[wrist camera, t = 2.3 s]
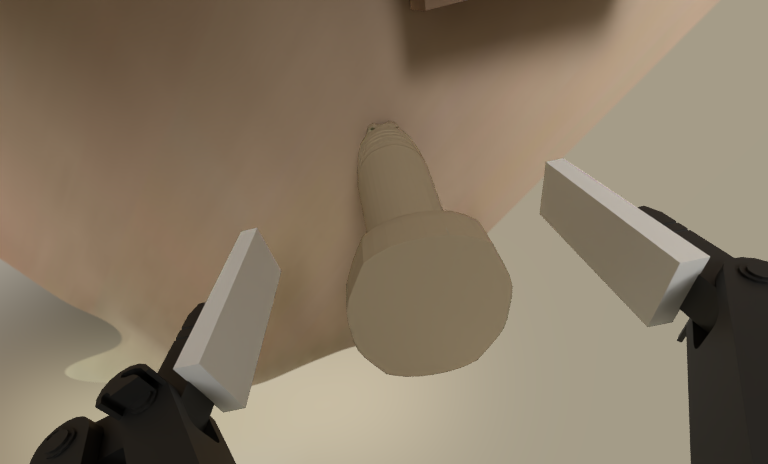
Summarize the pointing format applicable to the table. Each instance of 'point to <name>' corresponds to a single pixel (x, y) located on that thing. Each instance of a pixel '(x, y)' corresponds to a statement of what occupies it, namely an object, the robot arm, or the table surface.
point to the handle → (419, 268)
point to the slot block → (430, 4)
